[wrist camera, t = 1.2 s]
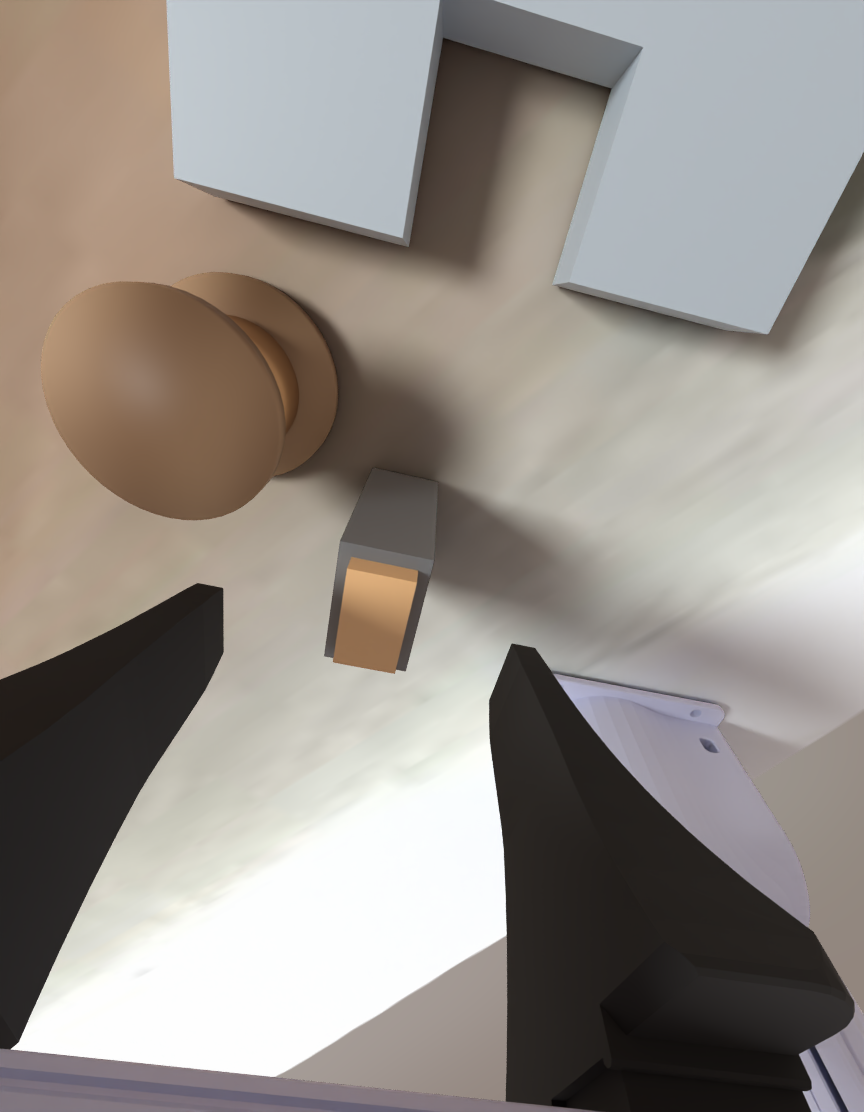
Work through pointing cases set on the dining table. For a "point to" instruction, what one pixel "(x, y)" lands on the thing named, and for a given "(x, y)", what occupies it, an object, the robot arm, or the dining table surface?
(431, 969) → the dining table surface
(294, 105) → the board
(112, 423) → the tan wooden yo-yo
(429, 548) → the grey rectangular block
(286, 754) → the dining table surface
